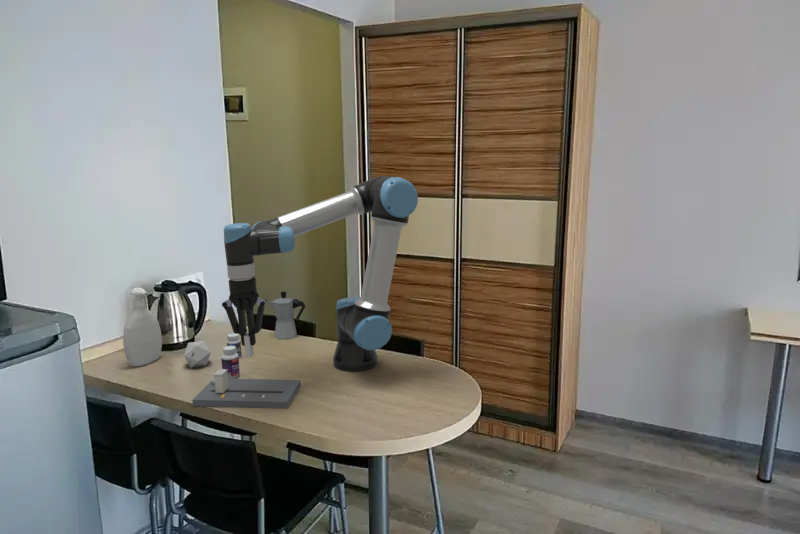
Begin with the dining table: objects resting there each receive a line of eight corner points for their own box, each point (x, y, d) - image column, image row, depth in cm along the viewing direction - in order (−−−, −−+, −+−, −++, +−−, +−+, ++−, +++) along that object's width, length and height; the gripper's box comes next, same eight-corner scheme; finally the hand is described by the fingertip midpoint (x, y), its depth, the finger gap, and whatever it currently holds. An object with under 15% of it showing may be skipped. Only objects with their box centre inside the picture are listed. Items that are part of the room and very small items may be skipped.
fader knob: (228, 387, 180) (227, 369, 178) (223, 393, 175) (222, 374, 174) (220, 387, 180) (219, 369, 179) (215, 392, 176) (213, 374, 174)
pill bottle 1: (229, 360, 208) (227, 337, 207) (226, 356, 212) (224, 334, 211) (243, 358, 210) (241, 335, 209) (240, 354, 215) (238, 331, 213)
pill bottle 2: (235, 379, 191) (233, 351, 189) (219, 378, 192) (217, 350, 190) (242, 373, 197) (240, 345, 195) (227, 372, 198) (225, 344, 196)
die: (179, 367, 205) (177, 351, 197) (194, 348, 211) (192, 331, 204) (202, 376, 204) (200, 360, 197) (215, 357, 210) (215, 340, 203)
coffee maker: (266, 339, 231) (263, 294, 227) (274, 332, 239) (272, 288, 236) (303, 340, 228) (300, 295, 225) (310, 333, 237) (308, 289, 233)
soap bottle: (136, 372, 199) (127, 294, 193) (120, 368, 203) (111, 291, 197) (171, 358, 211) (164, 284, 206) (156, 354, 215) (148, 282, 210)
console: (301, 386, 186) (300, 375, 185) (287, 408, 170) (286, 396, 169) (214, 384, 188) (213, 373, 187) (192, 406, 172) (191, 394, 172)
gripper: (268, 274, 173) (275, 350, 178) (224, 275, 174) (233, 351, 179) (260, 280, 166) (267, 360, 171) (214, 281, 167) (223, 360, 172)
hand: (250, 355), depth 175 cm, fingers closed
